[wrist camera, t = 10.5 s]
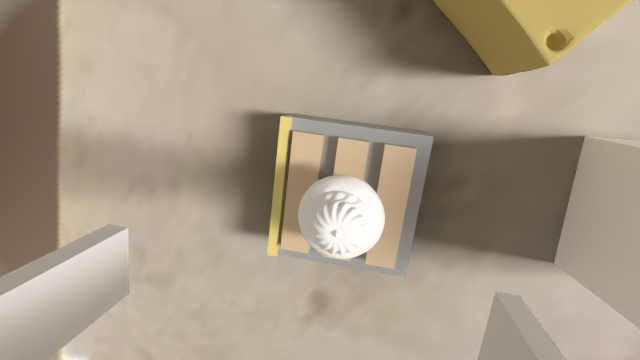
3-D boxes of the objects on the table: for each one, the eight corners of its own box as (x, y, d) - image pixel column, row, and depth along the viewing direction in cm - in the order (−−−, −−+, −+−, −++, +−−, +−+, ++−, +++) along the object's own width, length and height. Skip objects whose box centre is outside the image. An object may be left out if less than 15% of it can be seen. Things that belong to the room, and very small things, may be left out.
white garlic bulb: (324, 152, 28) (309, 170, 21) (396, 185, 28) (404, 212, 21) (295, 220, 29) (272, 256, 23) (363, 251, 29) (360, 297, 22)
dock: (293, 113, 32) (279, 116, 28) (426, 132, 31) (436, 138, 26) (280, 235, 35) (265, 256, 30) (401, 256, 34) (406, 282, 29)
